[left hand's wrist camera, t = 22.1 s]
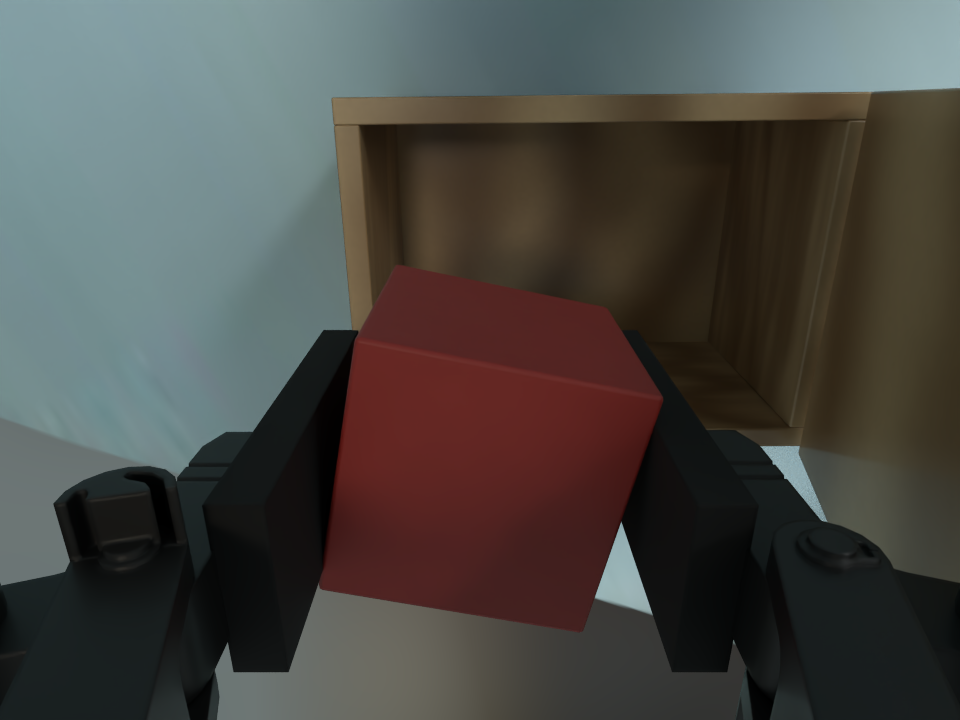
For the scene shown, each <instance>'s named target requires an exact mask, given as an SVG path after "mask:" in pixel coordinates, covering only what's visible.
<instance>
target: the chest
mask: <svg viewBox="0 0 960 720" xmlns="http://www.w3.org/2000/svg"><path fill="white" fill-rule="evenodd" d="M871 93H872V92H814V93H720V94H626V95H532V96H438V97H344V98H332V110H333V121H334V125H335V126H334V132H335V143H336V154H337V165H338V176H339V188H340V199H341V210H342V221H343V232H344V244H345V255H346V266H347V277H348V288H349V299H350V311H351V322H352V330H358V332H359V331H360V330H361V328H362V326H363V324H364V322H365V320H366V319H367V317H368V315H369V313H370V311H371V309H372V308H373V306H374V304H375V302H376V300H377V298H378V297H379V295H380V293H381V291H382V289H383V287H384V286H385V284H386V282H387V280H388V278H389V276H390V275H391V273H392V271H393V269H394V267H395V266H396V265H402V266H407V267H412V268H417V269H422V270H427V271H432V272H437V273H441V274H446V275H451V276H456V277H461V278H466V279H471V280H475V281H480V282H485V283H490V284H495V285H500V286H505V287H509V288H514V289H519V290H524V291H529V292H534V293H539V294H543V295H548V296H553V297H558V298H563V299H568V300H573V301H578V302H582V303H587V304H592V305H597V306H602V307H606V308H607V309H608V310H609V312H610V313H611V315H612V316H613V318H614V320H615V321H616V323H617V324H618V326H619V328H620V329H621V330H637V331H638V332H639V334H640V335H641V336H642V338H643V339H644V341H645V342H646V344H647V345H648V346H649V348H650V349H651V351H652V352H653V354H654V355H655V357H656V358H657V359H658V361H659V362H660V364H661V365H662V367H663V368H664V369H665V371H666V372H667V374H668V375H669V377H670V378H671V380H672V381H673V382H674V384H675V385H676V387H677V388H678V390H679V391H680V392H681V394H682V395H683V397H684V398H685V400H686V401H687V403H688V404H689V405H690V407H691V408H692V410H693V411H694V413H695V414H696V415H697V417H698V418H699V420H700V421H701V423H702V424H703V426H704V427H705V428H706V430H736V431H738V432H739V433H741V434H742V435H744V436H746V437H747V438H749V439H751V440H752V441H754V442H755V443H757V444H759V445H760V446H800V443H801V438H802V433H803V428H804V423H805V418H806V413H807V408H808V403H809V398H810V393H811V388H812V384H813V379H814V374H815V369H816V364H817V359H818V354H819V349H820V344H821V339H822V334H823V329H824V324H825V319H826V314H827V309H828V304H829V299H830V294H831V290H832V285H833V280H834V275H835V270H836V265H837V260H838V255H839V250H840V245H841V240H842V235H843V230H844V225H845V220H846V215H847V210H848V205H849V200H850V195H851V191H852V186H853V181H854V176H855V171H856V166H857V161H858V156H859V151H860V146H861V141H862V136H863V131H864V126H865V121H866V116H867V111H868V106H869V101H870V96H871Z"/></svg>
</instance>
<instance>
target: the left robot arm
mask: <svg viewBox="0 0 960 720" xmlns="http://www.w3.org/2000/svg"><path fill="white" fill-rule="evenodd" d="M621 331H622V332H623V334H624V336H625V337H626V339H627V340H628V342H629V344H630V345H631V347H632V348H633V350H634V352H635V353H636V355H637V356H638V358H639V360H640V361H641V363H642V364H643V366H644V368H645V369H646V371H647V372H648V374H649V376H650V377H651V379H652V380H653V382H654V384H655V385H656V387H657V388H658V390H659V392H660V393H661V395H662V396H663V403H662V406H661V409H660V412H659V414H658V417H657V420H656V423H655V426H654V429H653V432H652V435H651V437H650V440H649V443H648V446H647V449H646V452H645V455H644V457H643V460H642V463H641V466H640V469H639V472H638V475H637V478H636V480H635V483H634V486H633V489H632V492H631V495H630V498H629V501H628V503H627V506H626V509H625V512H624V515H623V518H622V521H621V522H622V525H623V528H624V531H625V534H626V536H627V539H628V542H629V545H630V548H631V551H632V554H633V557H634V560H635V563H636V566H637V569H638V572H639V575H640V578H641V581H642V584H643V587H644V590H645V593H646V596H647V599H648V602H649V605H650V608H651V611H652V614H653V616H654V619H655V622H656V625H657V628H658V631H659V634H660V637H661V640H662V643H663V646H664V649H665V652H666V655H667V658H668V661H669V664H670V667H671V670H672V672H727V670H728V665H729V660H730V654H731V649H732V644H733V640H734V642H735V644H736V646H737V648H738V650H739V652H740V654H741V656H742V659H743V661H744V663H745V665H746V669H745V674H744V679H743V683H742V688H741V693H740V698H739V703H738V708H737V713H736V718H735V720H960V583H958V582H953V581H948V580H943V579H938V578H933V577H928V576H923V575H918V574H913V573H908V572H904V571H901V570H897V569H894V568H893V566H892V564H891V562H890V560H889V559H888V558H887V556H886V555H885V554H884V552H883V551H882V550H881V549H880V547H878V546H877V545H876V544H874V543H873V542H871V541H870V540H868V539H867V538H866V537H864V536H863V535H861V534H859V533H857V532H854V531H852V530H850V529H847V528H845V527H843V526H840V525H836V524H832V523H828V522H824V521H821V520H820V519H819V517H818V516H817V515H816V514H815V513H814V511H813V510H812V509H811V508H810V506H809V505H808V504H807V503H806V502H805V500H804V499H803V498H802V497H801V496H800V494H799V493H798V492H797V491H796V489H795V488H794V487H793V486H792V485H791V483H790V482H789V481H788V480H787V479H784V475H783V474H782V472H781V471H780V470H779V469H778V467H777V466H776V465H773V463H772V460H771V459H770V458H769V456H768V455H767V454H766V453H765V452H764V450H763V449H762V448H761V447H760V445H759V444H757V443H755V442H754V441H752V440H751V439H749V438H747V437H746V436H744V435H742V434H741V433H739V432H738V431H736V430H706V428H705V427H704V426H703V424H702V423H701V421H700V420H699V418H698V417H697V415H696V414H695V413H694V411H693V410H692V408H691V407H690V405H689V404H688V403H687V401H686V400H685V398H684V397H683V395H682V394H681V392H680V391H679V390H678V388H677V387H676V385H675V384H674V382H673V381H672V380H671V378H670V377H669V375H668V374H667V372H666V371H665V369H664V368H663V367H662V365H661V364H660V362H659V361H658V359H657V358H656V357H655V355H654V354H653V352H652V351H651V349H650V348H649V346H648V345H647V344H646V342H645V341H644V339H643V338H642V336H641V335H640V334H639V332H638V331H637V330H621ZM358 333H359V332H358V330H323V332H322V333H321V335H320V336H319V338H318V339H317V340H316V342H315V343H314V345H313V346H312V348H311V349H310V351H309V352H308V353H307V355H306V356H305V358H304V359H303V361H302V362H301V363H300V365H299V366H298V368H297V369H296V371H295V372H294V374H293V375H292V376H291V378H290V379H289V381H288V382H287V384H286V385H285V386H284V388H283V389H282V391H281V392H280V394H279V395H278V397H277V398H276V399H275V401H274V402H273V404H272V405H271V407H270V408H269V410H268V411H267V412H266V414H265V415H264V417H263V418H262V420H261V421H260V422H259V424H258V425H257V427H256V428H255V430H254V431H253V432H225V433H224V434H222V435H220V436H219V437H217V438H216V439H214V440H212V441H211V442H209V443H208V444H206V445H204V446H203V447H202V448H201V449H200V450H199V452H198V453H197V454H196V455H195V457H194V458H193V459H192V460H191V461H190V463H189V467H186V468H185V469H184V470H183V471H182V473H181V474H180V475H179V476H178V477H177V481H176V479H175V476H173V475H172V474H171V473H169V472H168V471H167V470H165V469H160V468H155V467H151V466H143V467H127V468H122V469H117V470H112V471H108V472H104V473H102V474H99V475H96V476H94V477H91V478H88V479H86V480H83V481H81V482H80V483H78V484H77V485H75V486H73V487H71V488H70V489H68V490H66V491H65V492H64V493H63V494H62V495H61V496H60V497H59V498H58V499H57V500H56V502H55V503H54V507H55V511H56V515H57V518H58V521H59V525H60V528H61V532H62V535H63V539H64V542H65V545H66V549H67V552H68V556H69V559H70V563H69V565H68V567H67V569H66V571H65V572H63V573H60V574H56V575H52V576H47V577H42V578H37V579H32V580H27V581H22V582H17V583H12V584H7V585H2V586H1V584H0V720H217V712H218V704H219V691H218V684H217V679H216V674H215V668H216V666H217V664H218V661H219V659H220V657H221V655H222V653H223V651H224V649H225V647H226V644H227V642H228V645H229V650H230V656H231V661H232V666H233V671H234V672H289V669H290V666H291V663H292V660H293V657H294V654H295V651H296V648H297V645H298V642H299V639H300V637H301V634H302V631H303V628H304V625H305V622H306V619H307V616H308V613H309V610H310V607H311V604H312V601H313V598H314V595H315V592H316V589H317V586H318V583H319V580H320V577H321V574H322V571H323V553H324V546H325V539H326V532H327V525H328V519H329V512H330V505H331V498H332V491H333V485H334V478H335V471H336V464H337V457H338V450H339V444H340V437H341V430H342V423H343V416H344V410H345V403H346V396H347V389H348V382H349V375H350V369H351V362H352V355H353V348H354V341H355V339H356V337H357V335H358Z"/></svg>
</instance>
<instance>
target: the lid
mask: <svg viewBox="0 0 960 720" xmlns="http://www.w3.org/2000/svg"><path fill="white" fill-rule="evenodd" d="M799 456H800V458H801V461H802V463H803V465H804V468H805V470H806V472H807V475H808V477H809V479H810V482H811V484H812V486H813V489H814V491H815V493H816V496H817V498H818V500H819V503H820V505H821V507H822V510H823V512H824V514H825V517H826V519H827V522H828V523H832V524H836V525H840V526H843V527H845V528H847V529H850V530H852V531H854V532H857V533H859V534H861V535H863V536H864V537H866V538H867V539H868V540H870V541H871V542H873V543H874V544H876V545H877V546H878V547H880V549H881V550H882V551H883V552H884V554H885V555H886V556H887V558H888V559H889V560H890V562H891V564H892V566H893V568H894V569H897V570H901V571H904V572H908V573H913V574H918V575H923V576H928V577H933V578H938V579H943V580H948V581H953V582H958V583H960V88H950V89H926V90H902V91H878V92H872V93H871V96H870V101H869V106H868V111H867V116H866V121H865V126H864V131H863V136H862V141H861V146H860V151H859V156H858V161H857V166H856V171H855V176H854V181H853V186H852V191H851V195H850V200H849V205H848V210H847V215H846V220H845V225H844V230H843V235H842V240H841V245H840V250H839V255H838V260H837V265H836V270H835V275H834V280H833V285H832V290H831V294H830V299H829V304H828V309H827V314H826V319H825V324H824V329H823V334H822V339H821V344H820V349H819V354H818V359H817V364H816V369H815V374H814V379H813V384H812V388H811V393H810V398H809V403H808V408H807V413H806V418H805V423H804V428H803V433H802V438H801V443H800V448H799Z"/></svg>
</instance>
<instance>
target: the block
mask: <svg viewBox="0 0 960 720" xmlns="http://www.w3.org/2000/svg"><path fill="white" fill-rule="evenodd" d="M662 403H663V396H662V395H661V393H660V392H659V390H658V388H657V387H656V385H655V384H654V382H653V380H652V379H651V377H650V376H649V374H648V372H647V371H646V369H645V368H644V366H643V364H642V363H641V361H640V360H639V358H638V356H637V355H636V353H635V352H634V350H633V348H632V347H631V345H630V344H629V342H628V340H627V339H626V337H625V336H624V334H623V332H622V331H621V329H620V328H619V326H618V324H617V323H616V321H615V320H614V318H613V316H612V315H611V313H610V312H609V310H608V309H607V308H606V307H602V306H597V305H592V304H587V303H582V302H578V301H573V300H568V299H563V298H558V297H553V296H548V295H543V294H539V293H534V292H529V291H524V290H519V289H514V288H509V287H505V286H500V285H495V284H490V283H485V282H480V281H475V280H471V279H466V278H461V277H456V276H451V275H446V274H441V273H437V272H432V271H427V270H422V269H417V268H412V267H407V266H402V265H396V266H395V267H394V269H393V271H392V273H391V275H390V276H389V278H388V280H387V282H386V284H385V286H384V287H383V289H382V291H381V293H380V295H379V297H378V298H377V300H376V302H375V304H374V306H373V308H372V309H371V311H370V313H369V315H368V317H367V319H366V320H365V322H364V324H363V326H362V328H361V330H360V331H359V333H358V335H357V337H356V339H355V341H354V348H353V355H352V362H351V369H350V375H349V382H348V389H347V396H346V403H345V410H344V416H343V423H342V430H341V437H340V444H339V450H338V457H337V464H336V471H335V478H334V485H333V491H332V498H331V505H330V512H329V519H328V525H327V532H326V539H325V546H324V553H323V571H322V574H321V577H320V580H319V586H320V589H322V590H327V591H333V592H339V593H345V594H351V595H357V596H363V597H369V598H375V599H381V600H387V601H393V602H399V603H405V604H411V605H417V606H423V607H429V608H435V609H441V610H447V611H453V612H459V613H465V614H471V615H477V616H483V617H489V618H495V619H501V620H507V621H513V622H519V623H525V624H531V625H537V626H544V627H549V628H556V629H561V630H567V631H574V632H582V631H583V629H584V627H585V624H586V621H587V618H588V615H589V612H590V609H591V607H592V604H593V601H594V598H595V595H596V592H597V589H598V587H599V584H600V581H601V578H602V575H603V572H604V569H605V566H606V564H607V561H608V558H609V555H610V552H611V549H612V546H613V544H614V541H615V538H616V535H617V532H618V529H619V526H620V523H621V521H622V518H623V515H624V512H625V509H626V506H627V503H628V501H629V498H630V495H631V492H632V489H633V486H634V483H635V480H636V478H637V475H638V472H639V469H640V466H641V463H642V460H643V457H644V455H645V452H646V449H647V446H648V443H649V440H650V437H651V435H652V432H653V429H654V426H655V423H656V420H657V417H658V414H659V412H660V409H661V406H662Z"/></svg>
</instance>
